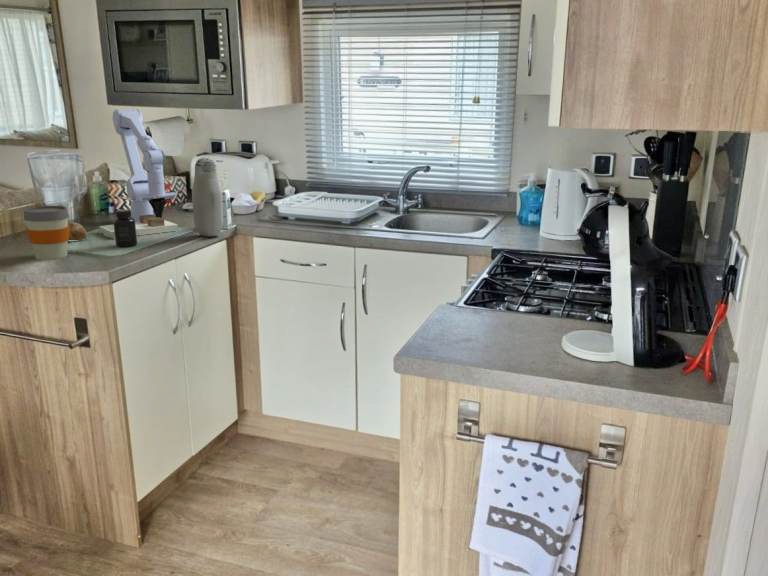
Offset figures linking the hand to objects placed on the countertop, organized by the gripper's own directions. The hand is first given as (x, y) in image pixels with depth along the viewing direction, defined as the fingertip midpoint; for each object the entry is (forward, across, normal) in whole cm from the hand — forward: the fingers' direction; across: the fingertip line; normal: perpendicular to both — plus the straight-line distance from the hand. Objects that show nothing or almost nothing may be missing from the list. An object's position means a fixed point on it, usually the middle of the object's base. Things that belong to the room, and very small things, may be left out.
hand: (158, 218), depth 256 cm
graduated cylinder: (+4, +19, -15) cm, 24 cm away
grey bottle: (+4, +8, -26) cm, 27 cm away
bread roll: (+4, -33, -2) cm, 33 cm away
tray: (+4, -17, -3) cm, 18 cm away
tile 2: (+1, -4, -8) cm, 9 cm away
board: (+4, -5, -4) cm, 7 cm away
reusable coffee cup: (+4, -45, -24) cm, 51 cm away
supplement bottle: (+4, -21, -23) cm, 32 cm away
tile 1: (+1, -4, 0) cm, 4 cm away
